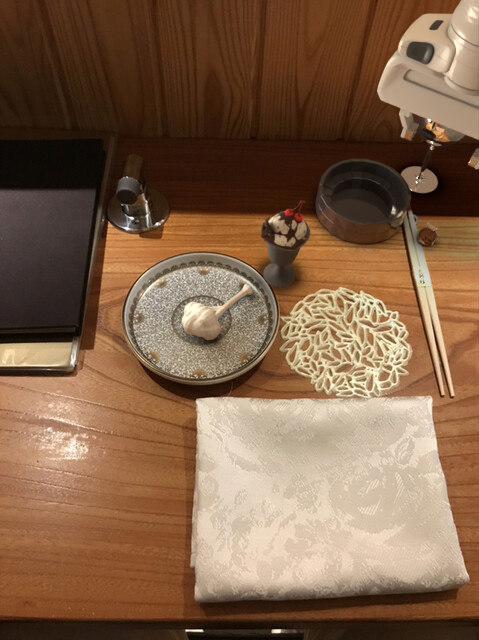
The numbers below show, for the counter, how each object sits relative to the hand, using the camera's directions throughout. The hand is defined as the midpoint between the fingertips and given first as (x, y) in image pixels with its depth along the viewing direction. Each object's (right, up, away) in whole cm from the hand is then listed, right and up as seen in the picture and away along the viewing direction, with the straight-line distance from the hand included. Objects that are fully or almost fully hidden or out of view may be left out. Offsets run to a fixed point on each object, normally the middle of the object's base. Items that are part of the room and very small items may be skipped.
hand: (440, 150), depth 74 cm
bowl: (-7, -5, +18) cm, 20 cm away
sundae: (-20, -16, +11) cm, 28 cm away
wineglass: (+4, +1, +22) cm, 23 cm away
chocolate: (+3, -10, +15) cm, 18 cm away
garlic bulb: (-30, -22, +7) cm, 37 cm away
